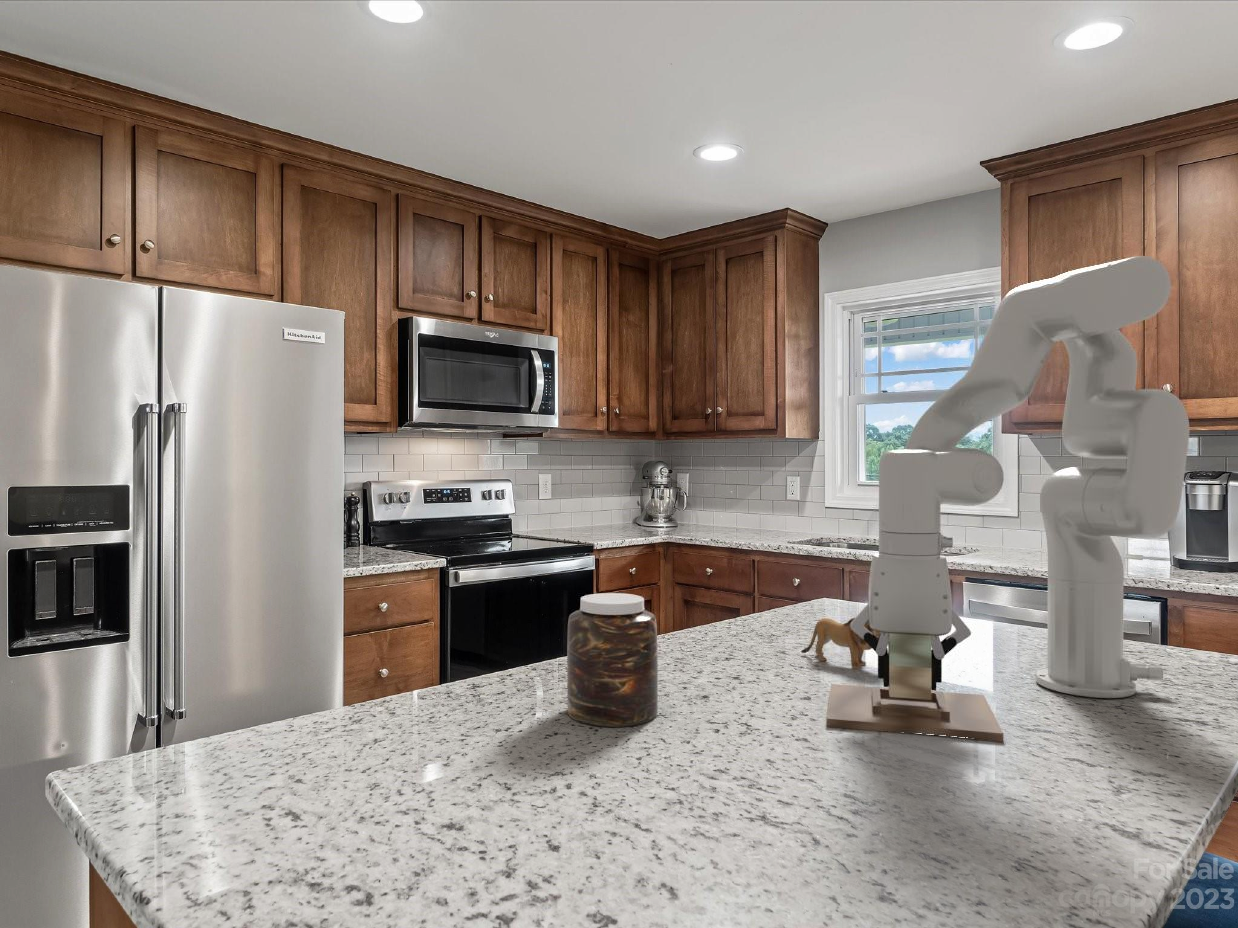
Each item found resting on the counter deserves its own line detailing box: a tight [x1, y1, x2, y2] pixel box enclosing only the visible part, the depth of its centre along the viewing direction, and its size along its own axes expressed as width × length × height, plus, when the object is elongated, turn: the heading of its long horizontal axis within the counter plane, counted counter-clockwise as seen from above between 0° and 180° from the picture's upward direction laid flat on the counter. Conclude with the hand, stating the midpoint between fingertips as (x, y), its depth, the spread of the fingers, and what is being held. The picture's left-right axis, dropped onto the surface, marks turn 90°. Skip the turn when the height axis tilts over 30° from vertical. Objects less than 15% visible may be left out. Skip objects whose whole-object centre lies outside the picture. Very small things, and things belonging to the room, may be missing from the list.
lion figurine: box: [800, 617, 880, 670], centre depth 133 cm, size 15×5×9 cm, turn 49°
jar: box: [566, 592, 659, 728], centre depth 108 cm, size 12×12×15 cm
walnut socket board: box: [826, 683, 1004, 743], centre depth 107 cm, size 20×16×2 cm
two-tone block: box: [887, 633, 932, 700], centre depth 107 cm, size 5×5×8 cm
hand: (909, 684), depth 107 cm, fingers closed on two-tone block, 5 cm apart
